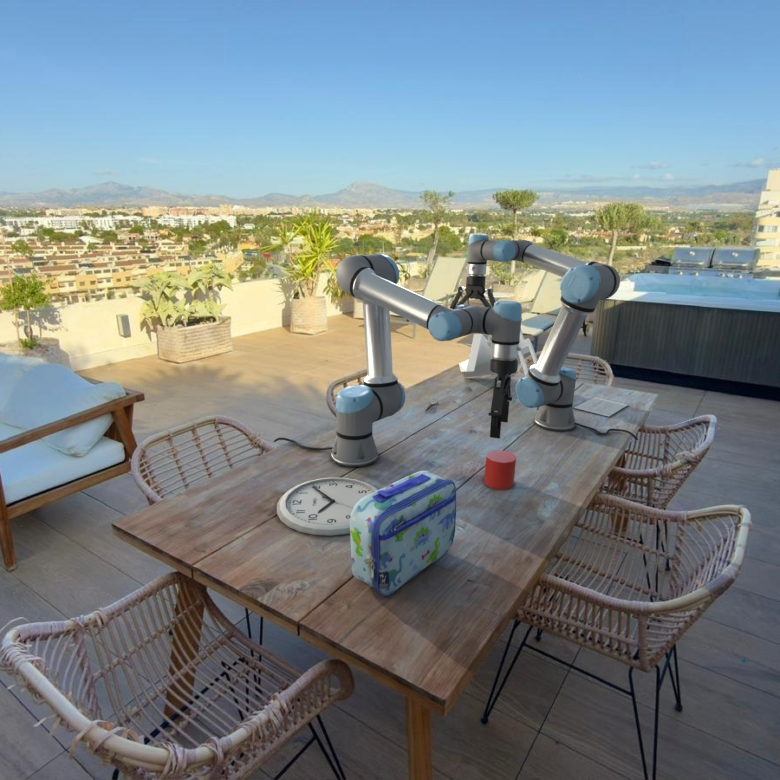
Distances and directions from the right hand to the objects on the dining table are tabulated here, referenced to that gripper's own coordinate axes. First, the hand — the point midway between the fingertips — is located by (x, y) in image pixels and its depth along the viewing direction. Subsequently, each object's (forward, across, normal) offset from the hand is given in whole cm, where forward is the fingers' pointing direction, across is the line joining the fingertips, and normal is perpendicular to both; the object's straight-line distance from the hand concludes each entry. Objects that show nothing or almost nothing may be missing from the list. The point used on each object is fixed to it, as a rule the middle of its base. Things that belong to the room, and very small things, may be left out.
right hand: (472, 328), depth 212 cm
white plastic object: (+34, -2, +41) cm, 53 cm away
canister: (+34, +36, -58) cm, 76 cm away
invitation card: (+34, +47, +35) cm, 68 cm away
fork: (+34, -14, -8) cm, 37 cm away
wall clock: (+34, +3, -96) cm, 102 cm away
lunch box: (+34, +34, -109) cm, 119 cm away
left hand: (+17, +36, -59) cm, 71 cm away
